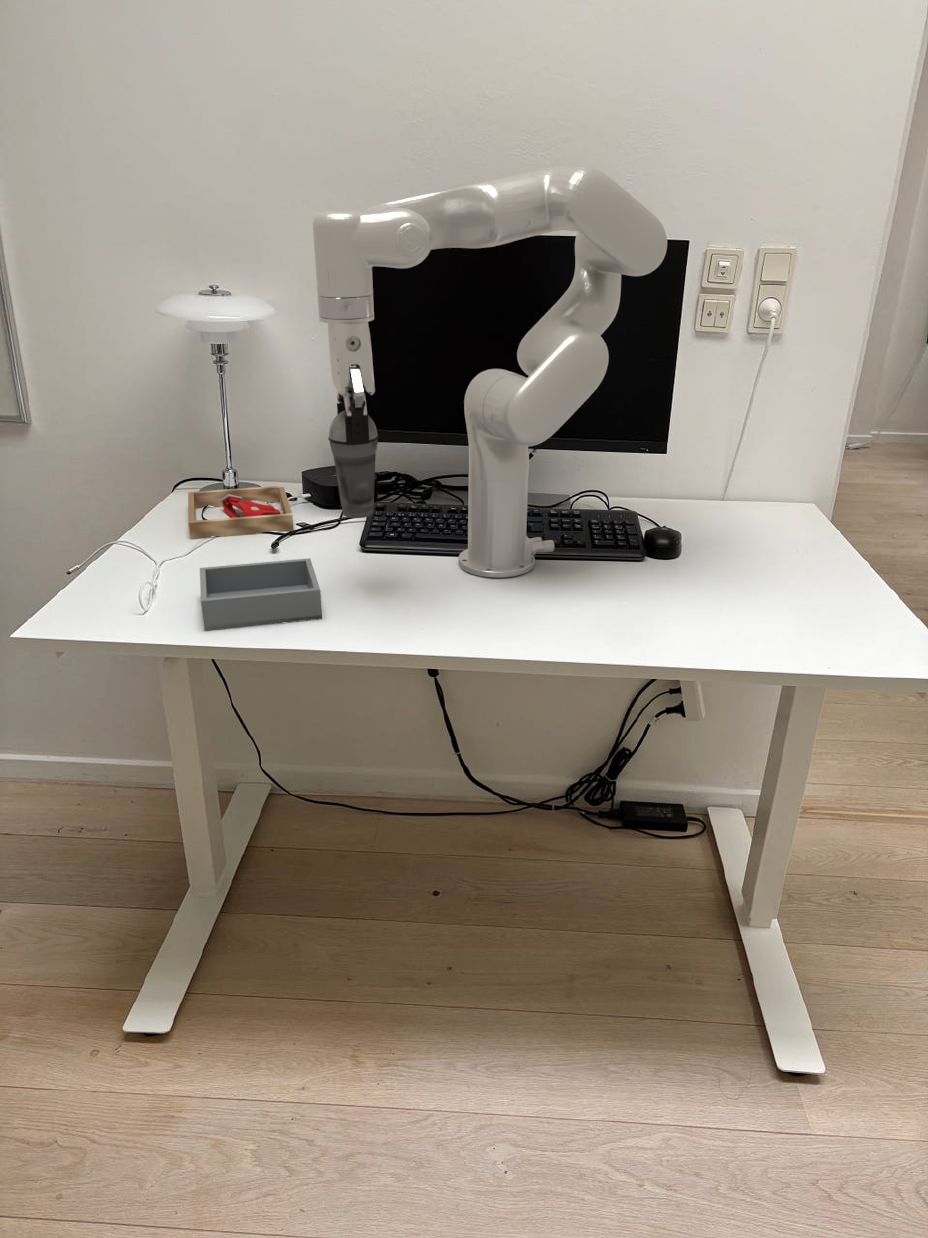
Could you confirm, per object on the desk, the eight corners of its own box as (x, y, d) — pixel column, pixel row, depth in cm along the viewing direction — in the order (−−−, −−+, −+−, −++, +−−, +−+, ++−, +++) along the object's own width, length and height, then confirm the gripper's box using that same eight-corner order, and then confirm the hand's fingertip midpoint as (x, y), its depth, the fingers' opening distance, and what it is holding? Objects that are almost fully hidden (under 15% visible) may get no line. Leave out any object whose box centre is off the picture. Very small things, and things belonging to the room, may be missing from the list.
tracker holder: (286, 505, 183) (275, 509, 174) (281, 527, 184) (270, 533, 175) (224, 489, 183) (210, 492, 173) (219, 511, 184) (205, 516, 174)
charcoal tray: (311, 585, 151) (310, 558, 149) (322, 618, 140) (320, 589, 138) (203, 595, 147) (199, 567, 145) (204, 630, 136) (200, 601, 134)
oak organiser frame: (284, 500, 189) (283, 485, 187) (293, 530, 173) (292, 515, 172) (189, 507, 184) (188, 492, 183) (190, 539, 169) (188, 522, 167)
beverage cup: (374, 522, 140) (367, 384, 132) (326, 519, 142) (316, 383, 133) (387, 506, 147) (382, 374, 138) (342, 503, 148) (333, 372, 139)
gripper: (384, 316, 125) (390, 450, 132) (363, 299, 140) (369, 420, 148) (327, 319, 123) (336, 454, 131) (311, 301, 138) (320, 423, 146)
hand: (353, 435), depth 139 cm, fingers closed on beverage cup, 7 cm apart
